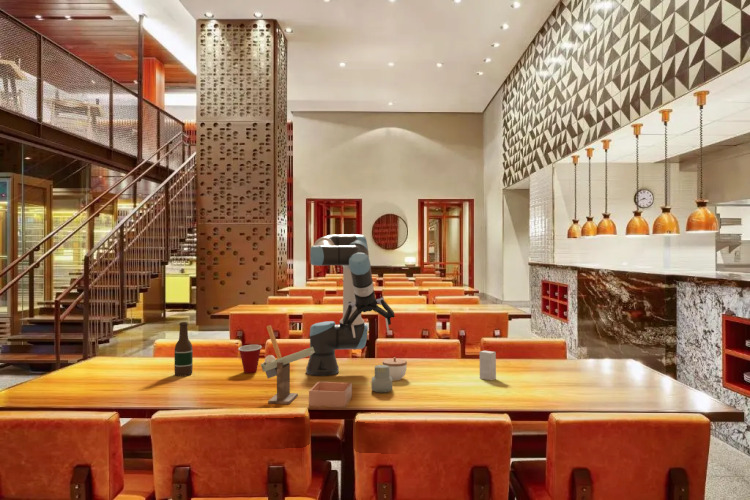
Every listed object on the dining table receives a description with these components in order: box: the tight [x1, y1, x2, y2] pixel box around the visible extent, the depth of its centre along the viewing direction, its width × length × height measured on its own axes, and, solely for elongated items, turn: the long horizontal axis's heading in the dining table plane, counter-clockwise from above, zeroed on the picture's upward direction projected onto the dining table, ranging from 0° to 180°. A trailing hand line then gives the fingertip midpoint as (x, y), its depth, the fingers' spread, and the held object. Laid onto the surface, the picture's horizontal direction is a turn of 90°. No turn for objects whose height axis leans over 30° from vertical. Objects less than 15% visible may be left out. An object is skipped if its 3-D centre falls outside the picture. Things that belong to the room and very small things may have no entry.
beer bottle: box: [174, 321, 194, 377], centre depth 233 cm, size 8×8×24 cm
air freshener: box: [370, 364, 393, 394], centre depth 205 cm, size 11×8×10 cm
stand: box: [267, 362, 299, 405], centre depth 193 cm, size 8×11×15 cm
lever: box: [260, 324, 315, 379], centre depth 194 cm, size 20×10×18 cm, turn 82°
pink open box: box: [308, 381, 353, 408], centre depth 190 cm, size 13×13×6 cm
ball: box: [264, 354, 276, 364], centre depth 193 cm, size 4×4×4 cm
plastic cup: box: [238, 344, 263, 374], centre depth 238 cm, size 11×11×12 cm
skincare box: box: [478, 350, 497, 381], centre depth 224 cm, size 6×4×12 cm
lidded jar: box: [382, 357, 408, 381], centre depth 225 cm, size 11×11×9 cm
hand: (371, 332), depth 202 cm, fingers open, 13 cm apart
